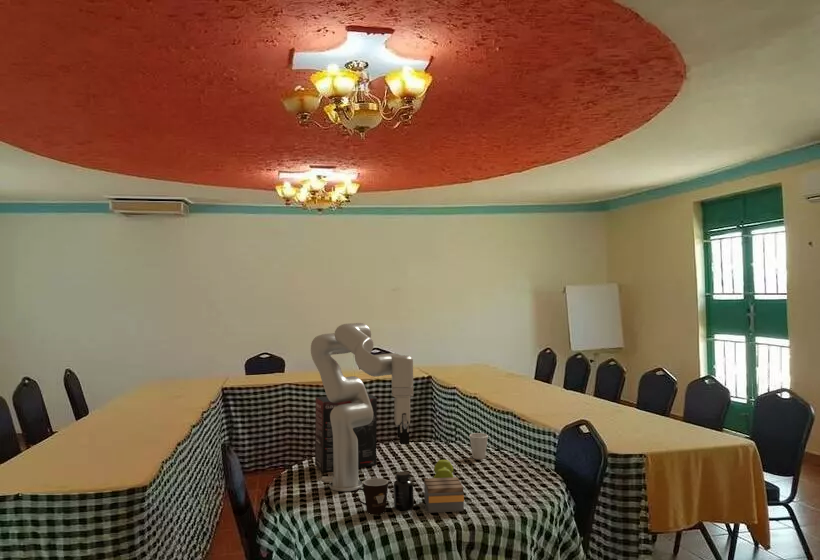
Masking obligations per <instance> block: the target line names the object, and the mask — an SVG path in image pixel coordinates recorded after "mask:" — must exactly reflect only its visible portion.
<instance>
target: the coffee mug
mask: <svg viewBox="0 0 820 560" xmlns="http://www.w3.org/2000/svg"><path fill="white" fill-rule="evenodd" d="M388 489H389V480H388V479H385V478H378V477H377V478H374V477H373V478H368V479H365V480H363V481H362V487H361V488H358V489H357V490H354V492H353V497H354V499H355V500H356V501H357V502H359V503H360V504H363V505H365V509H366V513H367V512H368V513H370V514H369V515H372V514H379V515H382V514H381V513H383V512H385V513H386V509H387V499H388ZM358 491H362V492H363V494H364V499H365V500H364V501H365V502H364V501H362V500H361V499H359V498H358V497H357V495H356V494H357V492H358ZM368 513H367V514H368ZM383 514H384V513H383Z"/></svg>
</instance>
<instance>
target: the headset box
mask: <svg viewBox="0 0 820 560" xmlns="http://www.w3.org/2000/svg"><path fill="white" fill-rule="evenodd" d="M367 394H368V397H369V400H370V403H371V406H372V409H373V420H372V422H371V423H370V424H368V425H365V426H360V427H355V428H353V431H354V433H355V434H356V436H357V439H358V469H359V468H367V467H374V466H377V428H378V427H377V425H378V424H377V420H378V419H377V417H378V416H377V415H378V414H377V412H378V411H377V410H378V409H377V408H378V405H377V404H378V401H377V400H378V398H377V396H374V395H373V394H369V393H367ZM347 403H352V402H351V401H345V402H339V403H333V402H331V401H329V399H328V397H327V395H326V396H315V433H314V434H315V437H314V438H315V439H314V442H315V445H314V447H315V449H314V454H315V455H314V462H315V463H314V465H315V466H316V467H317V468H318V469H319V470H320V471H321V472H322V473H325V472H334V471H333V431H332V425H331V420H330V414H331V411H332V410H333V408H335V407H336V406H338V405H342V404H347Z"/></svg>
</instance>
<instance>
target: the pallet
mask: <svg viewBox="0 0 820 560" xmlns="http://www.w3.org/2000/svg"><path fill="white" fill-rule="evenodd" d="M423 481H424V483H425V486H426V488H427V491H428V493H447V492H463V493H464V486H463V484H462V482H461V481H460V479H459V478H458V477H457V476H456V477H454V476H453V477H452V478H434V477H431V478H430V477H429V478H424V480H423Z"/></svg>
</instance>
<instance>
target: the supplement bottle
mask: <svg viewBox="0 0 820 560" xmlns="http://www.w3.org/2000/svg"><path fill="white" fill-rule="evenodd" d="M395 479H396V480H395V481H394V482H393V508H394V509H395V510H397V511H400V510H402V511H404V510H406V511H410V510H413V508H414V507H415V506H414V500H415V499H414V484H413V483H414V482H413V480H411V473H410V472H409V471H403V470H402V471H397V472H396V473H395ZM402 511H401V512H402ZM404 512H405V511H404Z"/></svg>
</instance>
